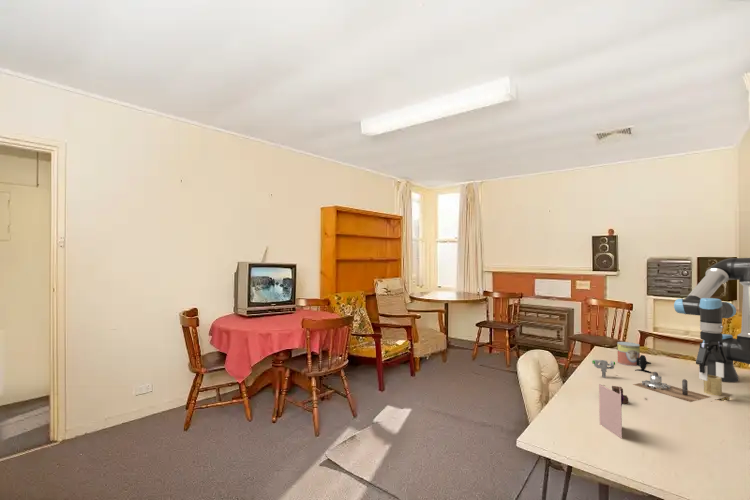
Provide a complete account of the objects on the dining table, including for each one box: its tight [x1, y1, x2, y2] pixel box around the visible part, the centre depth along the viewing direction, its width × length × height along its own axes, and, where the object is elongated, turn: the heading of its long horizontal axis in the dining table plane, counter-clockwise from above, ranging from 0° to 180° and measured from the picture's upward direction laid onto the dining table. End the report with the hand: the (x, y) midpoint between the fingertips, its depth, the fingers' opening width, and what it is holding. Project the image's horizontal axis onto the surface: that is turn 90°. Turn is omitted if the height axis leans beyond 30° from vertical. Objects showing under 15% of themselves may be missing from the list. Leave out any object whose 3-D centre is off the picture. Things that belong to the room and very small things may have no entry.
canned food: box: [616, 341, 641, 367], centre depth 221 cm, size 11×11×12 cm
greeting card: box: [598, 383, 624, 439], centre depth 132 cm, size 11×7×15 cm, turn 148°
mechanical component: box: [591, 359, 616, 379], centre depth 189 cm, size 3×10×10 cm, turn 79°
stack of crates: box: [611, 385, 629, 405], centre depth 161 cm, size 15×15×7 cm
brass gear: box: [703, 375, 731, 402], centre depth 167 cm, size 11×11×9 cm
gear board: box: [632, 371, 711, 403], centre depth 170 cm, size 16×24×8 cm, turn 23°
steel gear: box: [641, 374, 671, 390], centre depth 176 cm, size 11×11×5 cm
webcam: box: [634, 354, 652, 374], centre depth 202 cm, size 8×8×10 cm
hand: (711, 378), depth 167 cm, fingers open, 13 cm apart
